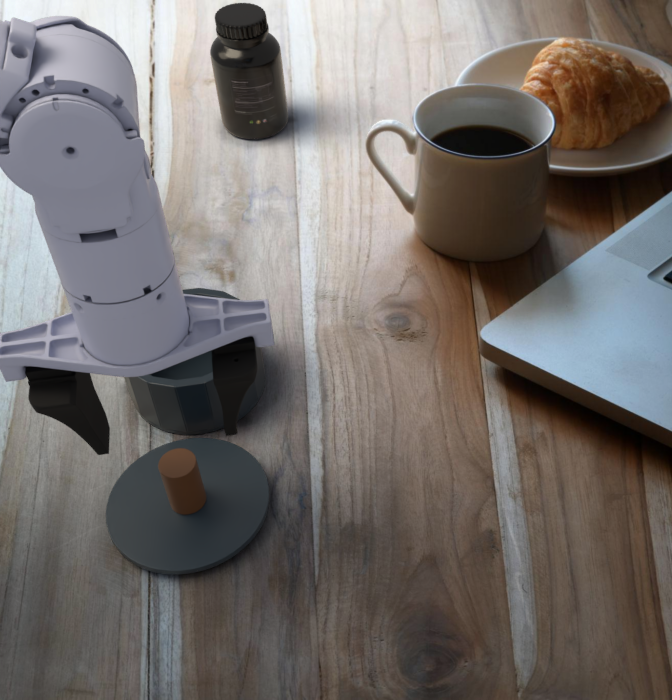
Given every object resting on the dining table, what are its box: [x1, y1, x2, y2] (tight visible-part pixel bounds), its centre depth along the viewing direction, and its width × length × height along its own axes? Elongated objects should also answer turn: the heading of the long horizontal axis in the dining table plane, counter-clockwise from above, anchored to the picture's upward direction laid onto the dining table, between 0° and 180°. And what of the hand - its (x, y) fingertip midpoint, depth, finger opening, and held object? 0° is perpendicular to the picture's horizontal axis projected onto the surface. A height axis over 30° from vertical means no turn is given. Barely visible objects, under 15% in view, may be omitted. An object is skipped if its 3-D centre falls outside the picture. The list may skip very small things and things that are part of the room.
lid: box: [105, 437, 271, 575], centre depth 62 cm, size 11×11×5 cm
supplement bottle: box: [209, 2, 289, 140], centre depth 92 cm, size 7×7×12 cm
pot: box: [123, 287, 266, 436], centre depth 70 cm, size 10×10×5 cm
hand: (168, 432), depth 58 cm, fingers open, 7 cm apart
